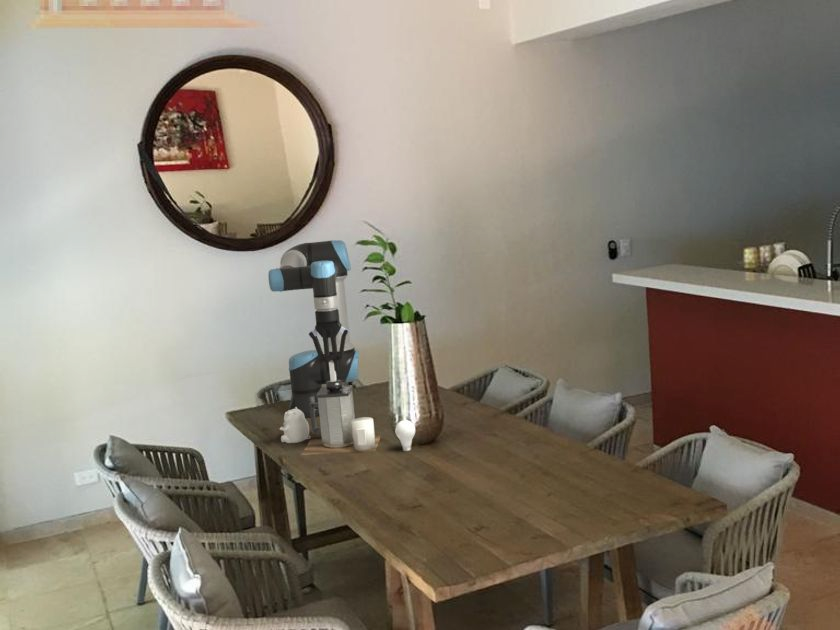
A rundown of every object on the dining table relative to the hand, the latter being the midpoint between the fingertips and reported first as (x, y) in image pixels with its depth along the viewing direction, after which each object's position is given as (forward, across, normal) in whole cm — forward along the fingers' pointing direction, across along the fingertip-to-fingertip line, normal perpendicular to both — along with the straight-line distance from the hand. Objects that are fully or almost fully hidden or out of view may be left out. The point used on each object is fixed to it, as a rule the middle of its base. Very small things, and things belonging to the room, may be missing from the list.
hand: (333, 380), depth 283 cm
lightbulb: (+23, +23, -11) cm, 34 cm away
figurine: (+23, -16, +8) cm, 29 cm away
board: (+23, +1, -2) cm, 23 cm away
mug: (+21, +9, -6) cm, 24 cm away
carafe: (+21, -2, 0) cm, 21 cm away
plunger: (+18, 0, 0) cm, 18 cm away
